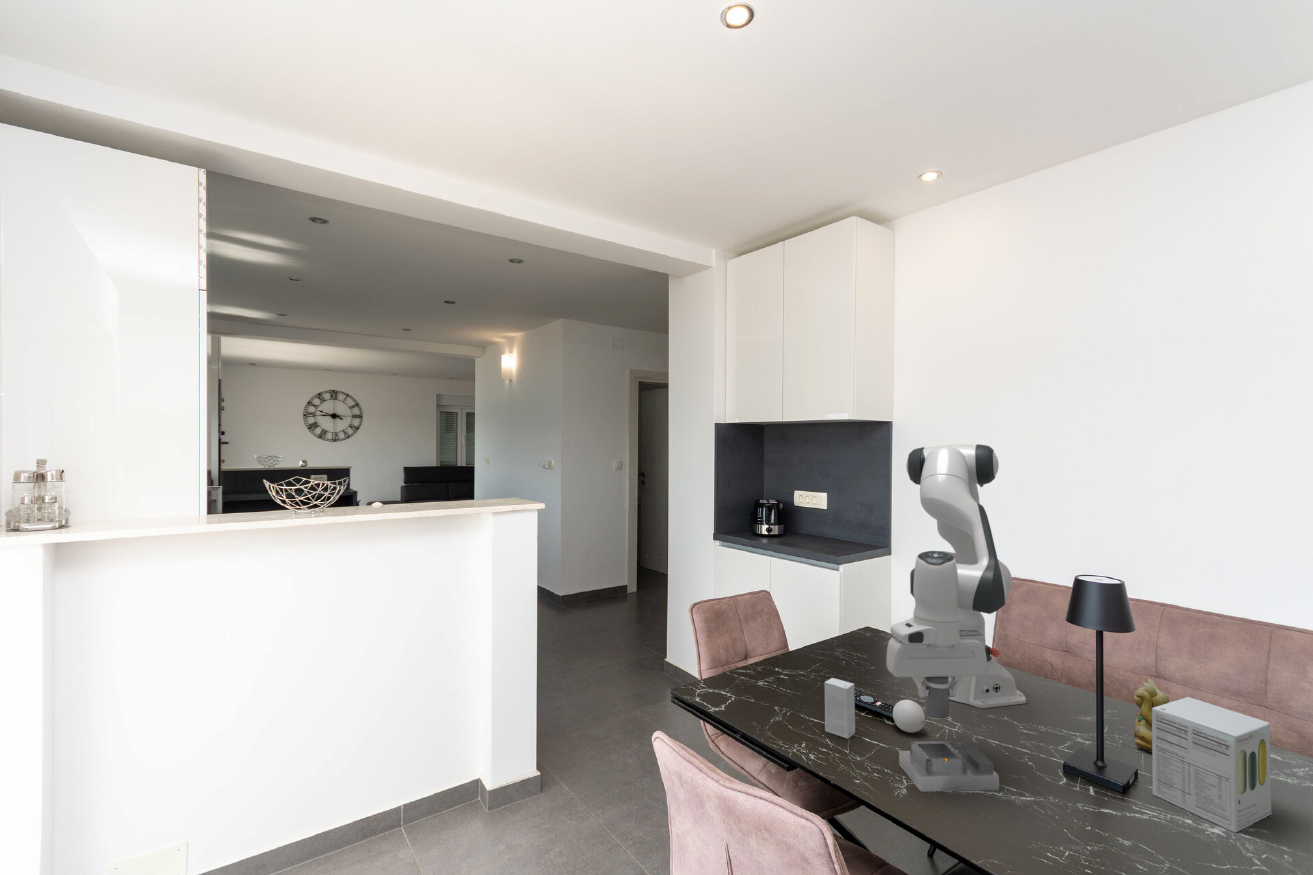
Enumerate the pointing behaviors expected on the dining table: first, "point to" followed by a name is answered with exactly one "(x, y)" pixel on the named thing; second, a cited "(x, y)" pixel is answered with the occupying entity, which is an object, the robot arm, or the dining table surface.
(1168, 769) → the supplement box
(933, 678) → the lens
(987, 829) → the dining table surface
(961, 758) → the grey holder dock
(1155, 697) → the decorative figurine
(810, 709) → the dining table surface
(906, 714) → the white egg
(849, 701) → the skincare box
